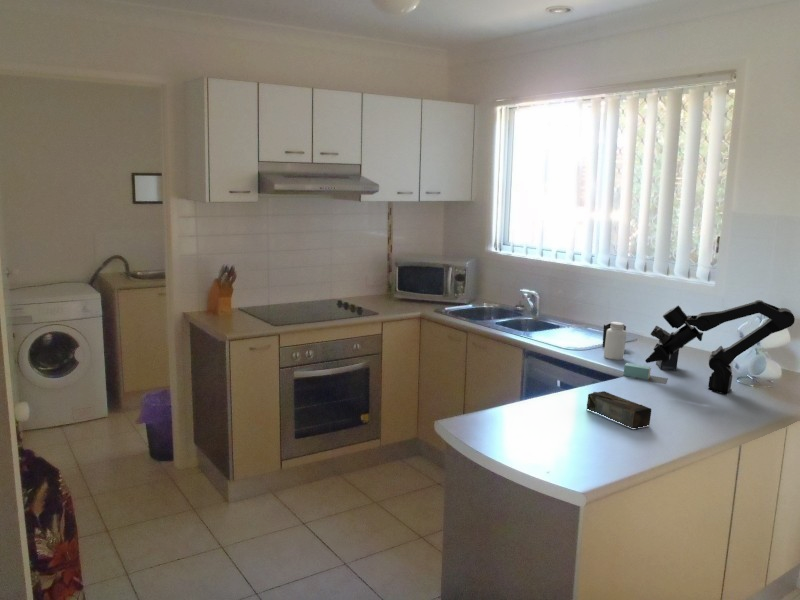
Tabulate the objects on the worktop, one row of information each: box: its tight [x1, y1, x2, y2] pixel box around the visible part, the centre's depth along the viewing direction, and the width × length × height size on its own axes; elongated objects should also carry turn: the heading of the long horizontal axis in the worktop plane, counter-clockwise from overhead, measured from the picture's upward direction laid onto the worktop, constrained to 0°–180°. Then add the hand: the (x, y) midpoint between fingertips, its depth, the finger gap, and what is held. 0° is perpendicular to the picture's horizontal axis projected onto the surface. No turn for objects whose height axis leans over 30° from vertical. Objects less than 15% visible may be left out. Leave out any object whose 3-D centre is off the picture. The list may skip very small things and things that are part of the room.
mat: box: [634, 374, 669, 385], centre depth 250 cm, size 11×8×1 cm
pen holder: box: [602, 322, 627, 348], centre depth 295 cm, size 9×9×10 cm
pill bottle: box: [603, 321, 627, 361], centre depth 277 cm, size 8×8×15 cm
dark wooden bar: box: [586, 391, 652, 428], centre depth 208 cm, size 8×19×7 cm, turn 31°
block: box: [623, 362, 652, 379], centre depth 252 cm, size 4×4×9 cm
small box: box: [655, 340, 680, 372], centre depth 266 cm, size 11×6×10 cm, turn 168°
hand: (646, 361), depth 250 cm, fingers closed
